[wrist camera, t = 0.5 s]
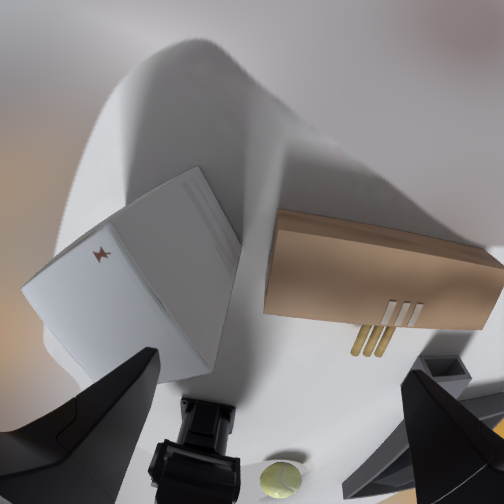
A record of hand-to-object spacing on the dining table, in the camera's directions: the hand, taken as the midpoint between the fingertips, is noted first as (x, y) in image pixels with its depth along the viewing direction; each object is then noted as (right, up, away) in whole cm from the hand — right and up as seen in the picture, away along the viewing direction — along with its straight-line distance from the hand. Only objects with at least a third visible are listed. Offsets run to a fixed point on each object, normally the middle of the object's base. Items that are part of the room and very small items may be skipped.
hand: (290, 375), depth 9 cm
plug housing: (+19, -10, +18) cm, 28 cm away
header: (+10, +1, +14) cm, 17 cm away
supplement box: (-7, +6, +13) cm, 16 cm away
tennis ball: (+3, -30, +29) cm, 42 cm away
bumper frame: (+29, -30, +27) cm, 50 cm away
